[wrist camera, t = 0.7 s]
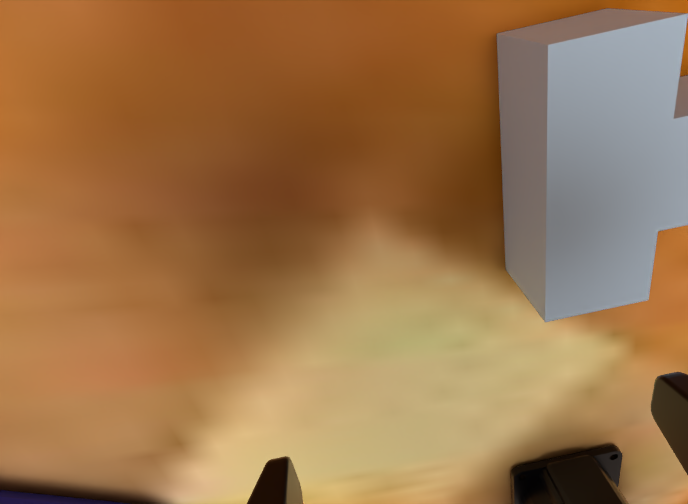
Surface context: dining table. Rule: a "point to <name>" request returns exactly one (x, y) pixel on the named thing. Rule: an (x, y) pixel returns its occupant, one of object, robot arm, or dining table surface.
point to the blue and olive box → (44, 499)
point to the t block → (591, 155)
